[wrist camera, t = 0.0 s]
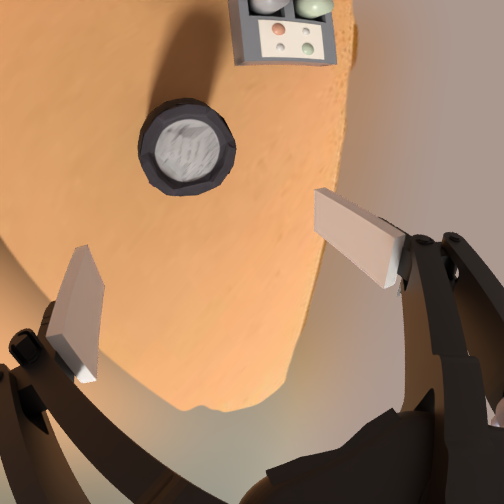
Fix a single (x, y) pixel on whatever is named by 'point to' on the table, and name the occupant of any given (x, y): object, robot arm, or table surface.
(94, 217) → the table surface
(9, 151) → the table surface
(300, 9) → the button sage
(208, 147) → the portable speaker
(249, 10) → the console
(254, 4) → the button grey
